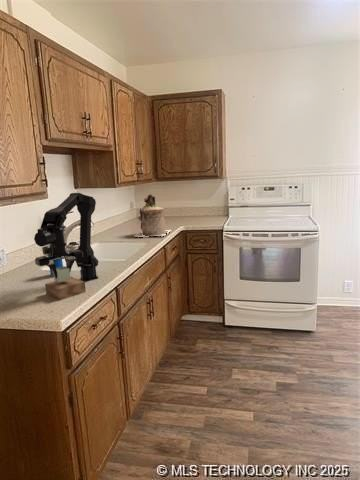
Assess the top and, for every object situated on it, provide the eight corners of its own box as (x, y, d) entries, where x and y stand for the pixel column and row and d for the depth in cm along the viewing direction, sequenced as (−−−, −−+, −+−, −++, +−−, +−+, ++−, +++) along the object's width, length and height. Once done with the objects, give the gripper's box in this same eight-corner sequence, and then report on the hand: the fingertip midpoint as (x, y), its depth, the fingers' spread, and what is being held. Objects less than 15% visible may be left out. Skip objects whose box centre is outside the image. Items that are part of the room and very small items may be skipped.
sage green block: (66, 277, 153) (64, 266, 152) (70, 279, 149) (69, 268, 148) (54, 280, 150) (53, 268, 149) (59, 282, 146) (57, 270, 145)
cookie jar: (172, 231, 284) (169, 192, 277) (164, 238, 260) (161, 194, 254) (143, 232, 289) (140, 193, 283) (132, 238, 266) (129, 196, 260)
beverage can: (65, 272, 183) (62, 250, 180) (61, 276, 176) (58, 253, 174) (53, 273, 183) (50, 250, 180) (49, 277, 176) (45, 253, 174)
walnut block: (72, 287, 159) (70, 276, 158) (85, 292, 150) (84, 281, 149) (46, 294, 151) (45, 283, 150) (59, 301, 142) (57, 289, 141)
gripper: (71, 235, 158) (75, 268, 161) (28, 242, 146) (33, 278, 149) (81, 238, 149) (85, 273, 153) (37, 246, 138) (42, 284, 141)
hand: (62, 277), depth 149 cm, fingers closed on sage green block, 5 cm apart
